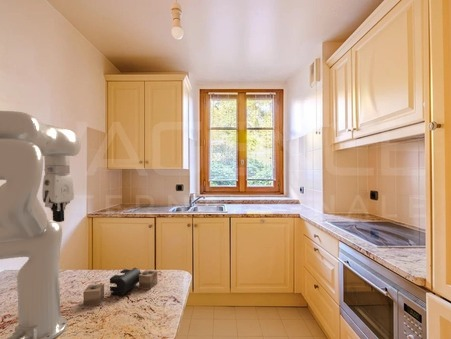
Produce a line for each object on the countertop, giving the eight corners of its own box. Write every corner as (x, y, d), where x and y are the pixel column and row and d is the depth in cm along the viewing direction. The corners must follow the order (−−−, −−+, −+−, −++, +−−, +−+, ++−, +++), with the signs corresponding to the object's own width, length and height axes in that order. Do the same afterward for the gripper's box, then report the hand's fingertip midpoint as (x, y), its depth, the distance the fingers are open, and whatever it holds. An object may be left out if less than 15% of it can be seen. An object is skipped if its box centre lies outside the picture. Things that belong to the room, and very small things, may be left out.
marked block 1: (99, 305, 86) (99, 289, 86) (83, 306, 85) (83, 291, 85) (104, 297, 91) (103, 283, 91) (89, 299, 90) (88, 284, 90)
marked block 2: (150, 289, 96) (150, 275, 96) (139, 288, 98) (138, 274, 98) (157, 283, 101) (157, 270, 101) (146, 282, 102) (146, 269, 102)
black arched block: (126, 297, 90) (125, 278, 90) (109, 295, 92) (108, 277, 92) (142, 285, 100) (141, 268, 100) (126, 283, 102) (126, 266, 102)
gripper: (50, 171, 84) (52, 226, 84) (80, 170, 99) (81, 217, 99) (30, 171, 85) (31, 226, 85) (62, 170, 100) (64, 217, 100)
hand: (58, 221), depth 92 cm, fingers closed
